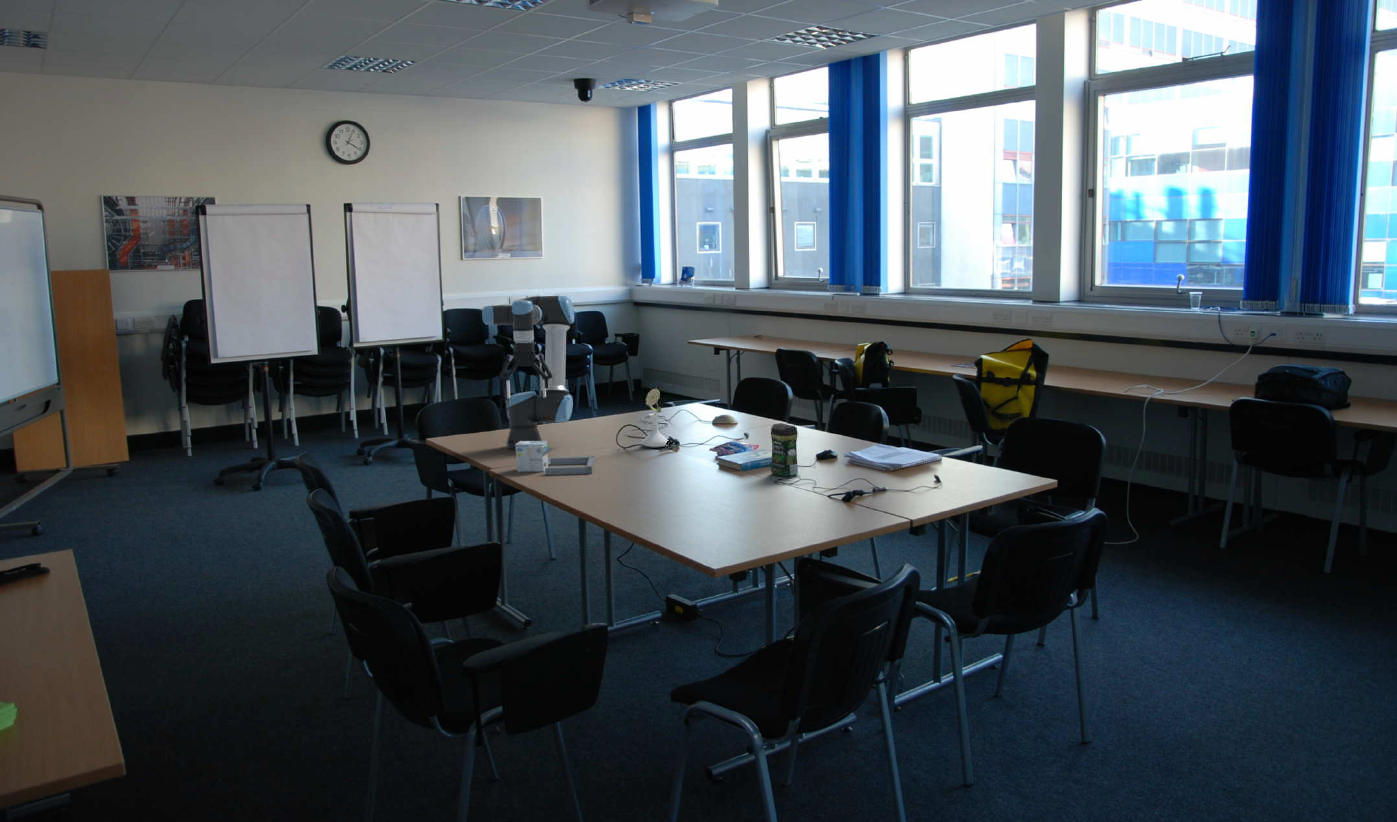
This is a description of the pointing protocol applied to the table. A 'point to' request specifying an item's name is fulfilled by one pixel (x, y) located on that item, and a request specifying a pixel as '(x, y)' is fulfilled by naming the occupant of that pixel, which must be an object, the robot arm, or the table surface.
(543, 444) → the light bulb box
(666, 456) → the table surface
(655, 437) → the flower in vase
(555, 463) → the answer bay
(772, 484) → the table surface
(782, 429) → the coffee jar
